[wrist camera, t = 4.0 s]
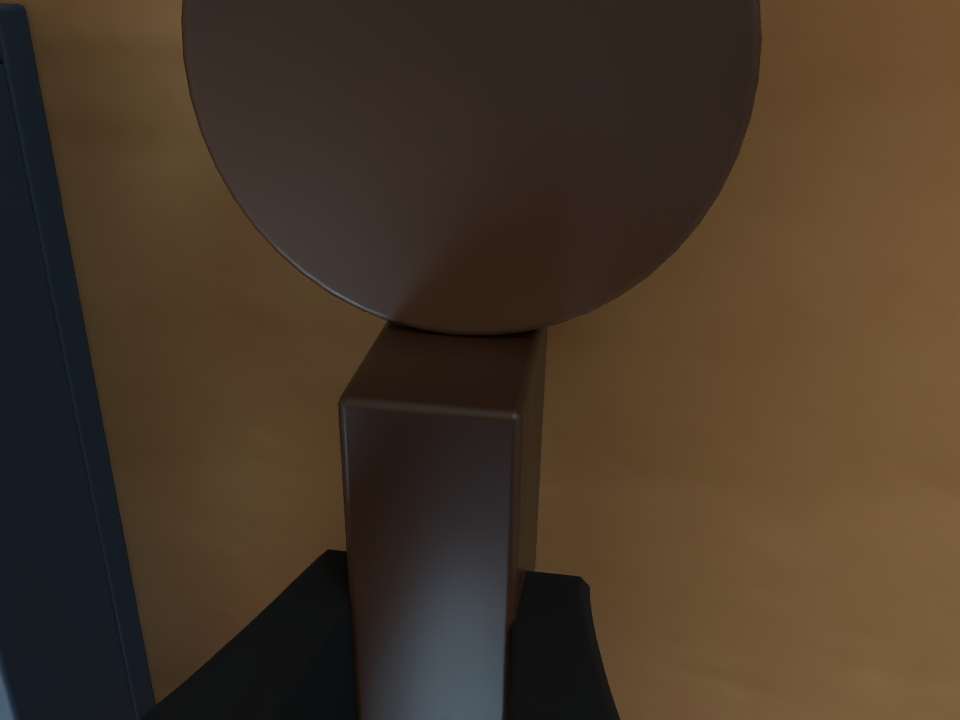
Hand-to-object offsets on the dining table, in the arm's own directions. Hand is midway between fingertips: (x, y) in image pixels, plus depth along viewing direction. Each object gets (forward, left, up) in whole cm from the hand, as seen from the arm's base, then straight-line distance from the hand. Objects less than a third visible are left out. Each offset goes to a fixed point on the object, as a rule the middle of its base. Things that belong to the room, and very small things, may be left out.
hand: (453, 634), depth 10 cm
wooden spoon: (0, 0, -1) cm, 1 cm away
